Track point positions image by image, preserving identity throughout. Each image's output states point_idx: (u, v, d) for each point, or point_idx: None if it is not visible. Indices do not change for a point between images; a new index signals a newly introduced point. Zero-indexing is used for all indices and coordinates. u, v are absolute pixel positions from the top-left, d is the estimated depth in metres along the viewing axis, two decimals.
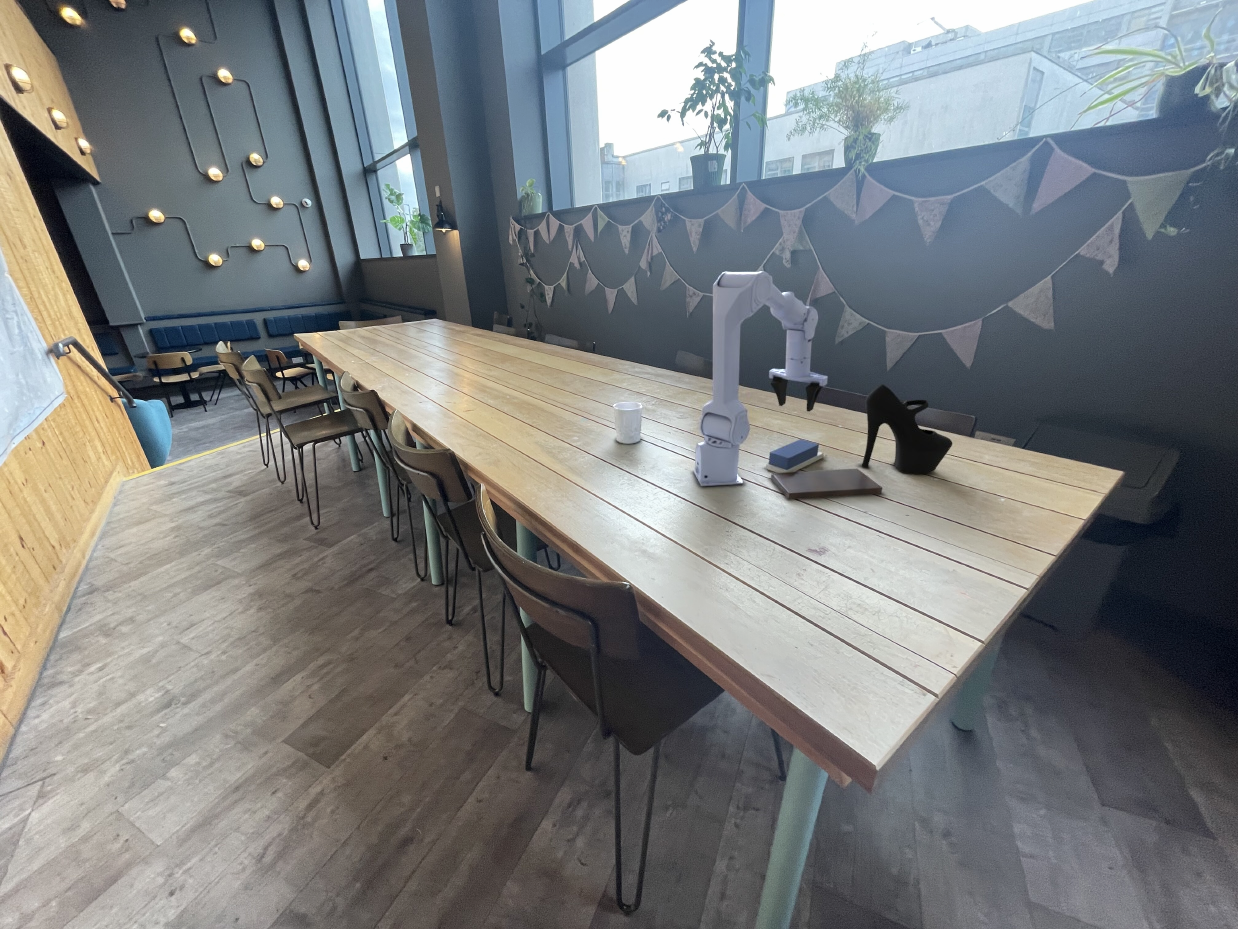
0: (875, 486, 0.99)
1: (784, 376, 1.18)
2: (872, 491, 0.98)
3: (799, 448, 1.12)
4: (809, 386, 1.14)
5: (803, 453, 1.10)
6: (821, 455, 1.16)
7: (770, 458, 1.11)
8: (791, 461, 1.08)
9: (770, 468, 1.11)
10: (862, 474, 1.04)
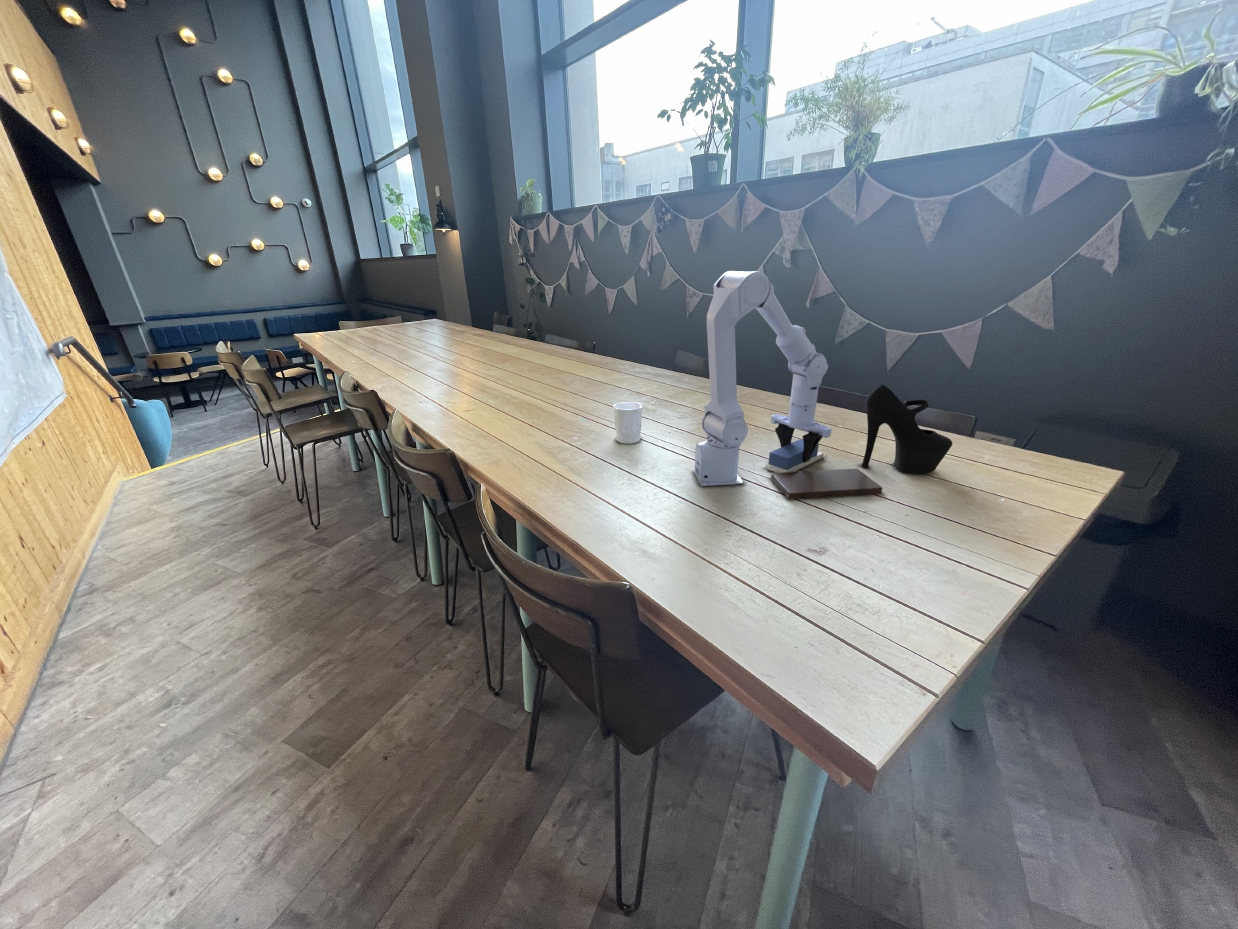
0: (875, 486, 0.99)
1: (786, 423, 1.10)
2: (872, 491, 0.98)
3: (799, 448, 1.12)
4: (807, 435, 1.08)
5: None
6: (821, 455, 1.16)
7: (770, 458, 1.11)
8: (791, 461, 1.08)
9: (770, 468, 1.11)
10: (862, 474, 1.04)
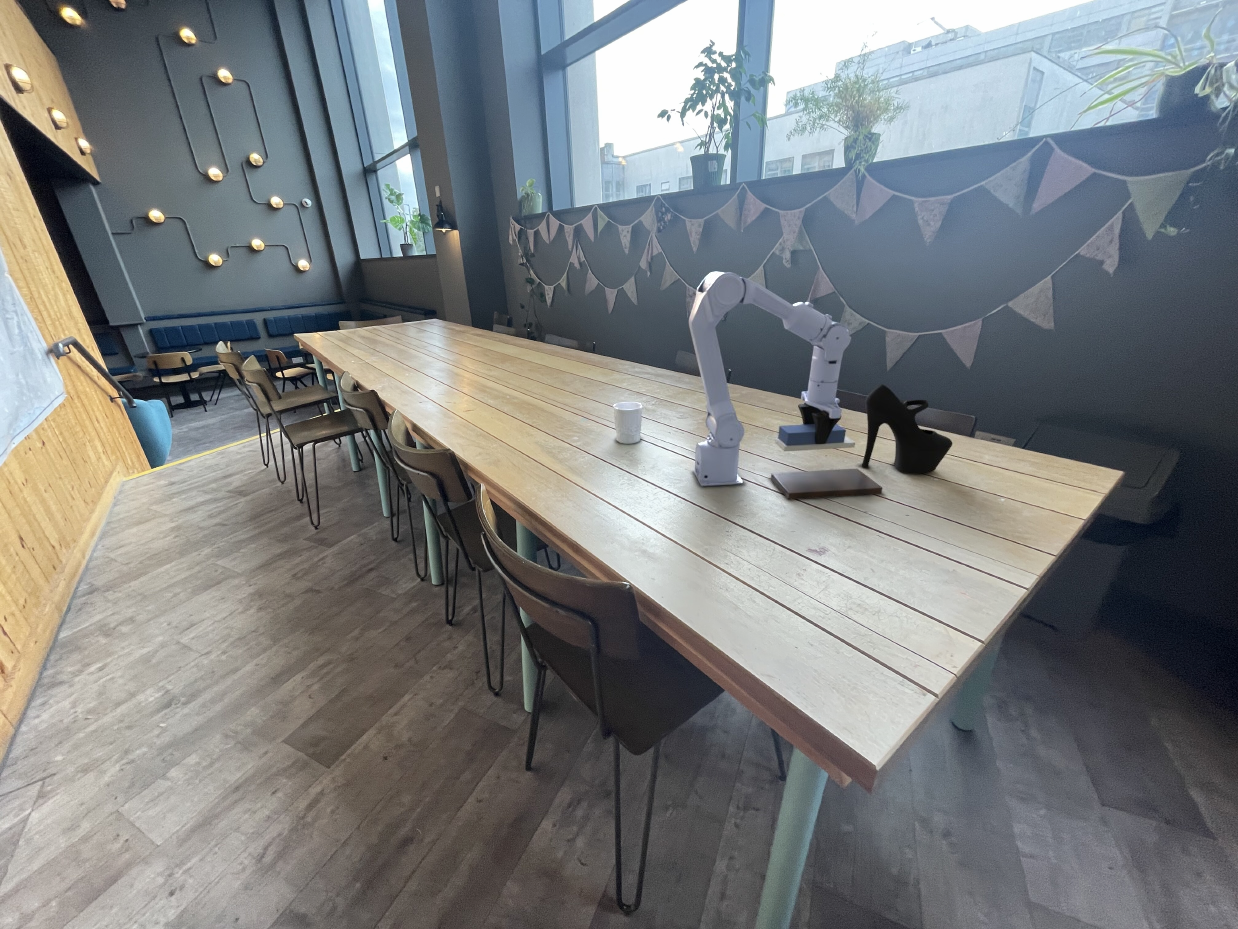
0: (875, 486, 0.99)
1: (805, 398, 1.04)
2: (872, 491, 0.98)
3: None
4: (817, 413, 1.00)
5: None
6: (851, 444, 1.04)
7: (779, 432, 1.07)
8: (793, 437, 1.02)
9: (777, 442, 1.07)
10: (862, 474, 1.04)
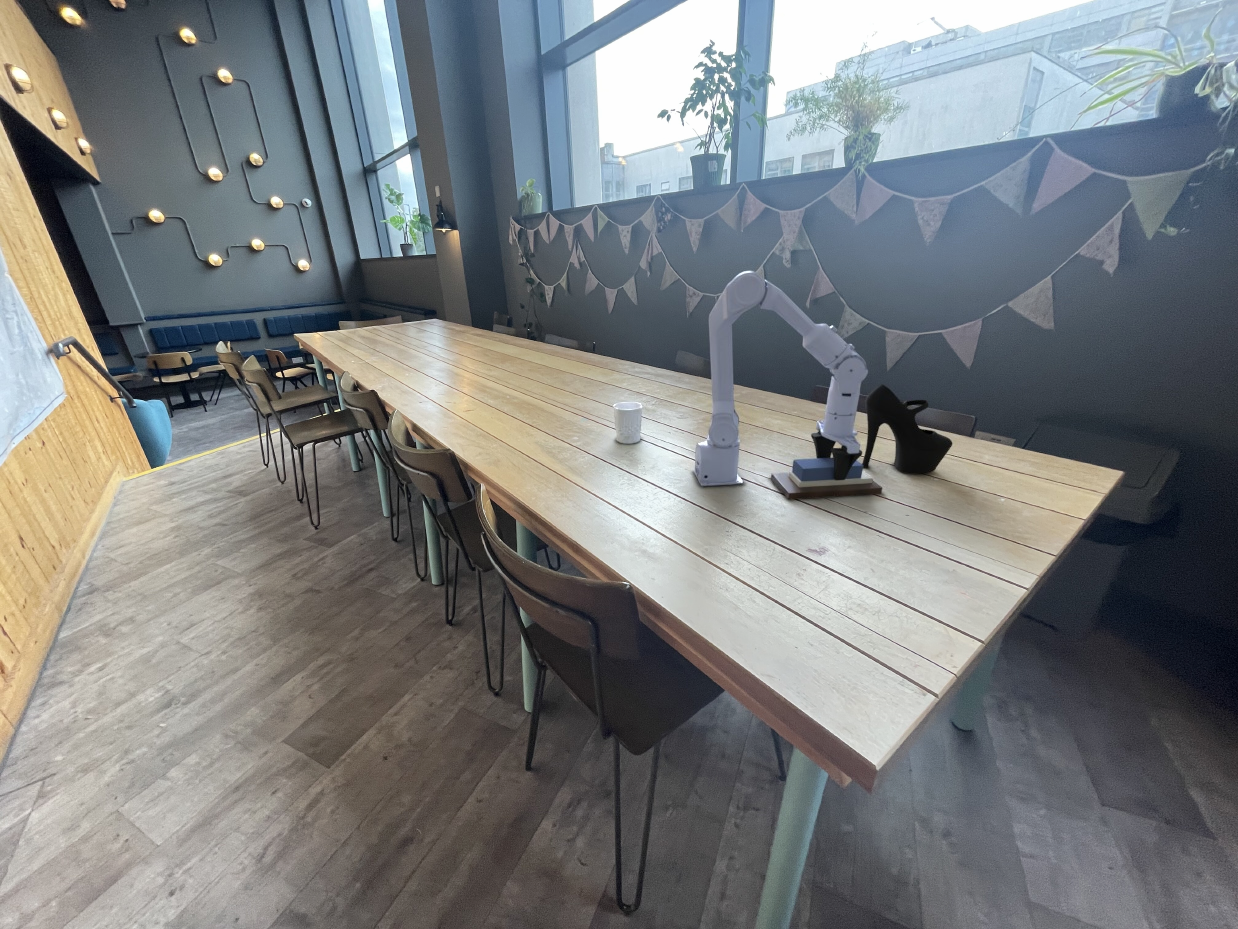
0: (875, 486, 0.99)
1: (820, 430, 1.00)
2: (872, 491, 0.98)
3: (833, 463, 1.00)
4: (836, 449, 0.94)
5: (831, 469, 0.98)
6: (868, 479, 1.00)
7: (793, 466, 1.03)
8: (808, 473, 0.98)
9: (791, 476, 1.03)
10: None
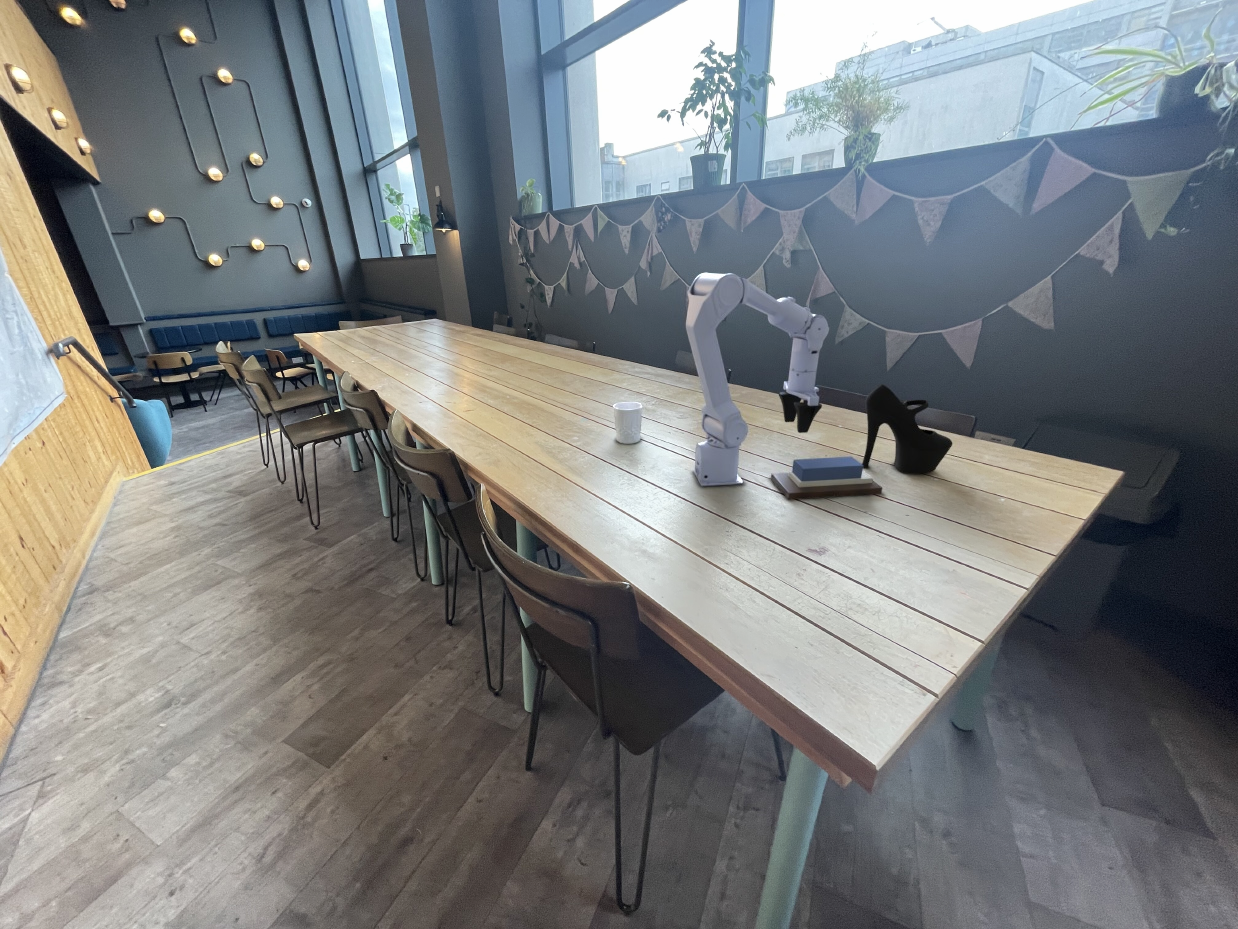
0: (875, 486, 0.99)
1: (786, 388, 1.09)
2: (872, 491, 0.98)
3: (833, 463, 1.00)
4: (798, 403, 1.04)
5: (831, 469, 0.98)
6: (868, 479, 1.00)
7: (793, 466, 1.03)
8: (808, 473, 0.98)
9: (791, 476, 1.03)
10: None
